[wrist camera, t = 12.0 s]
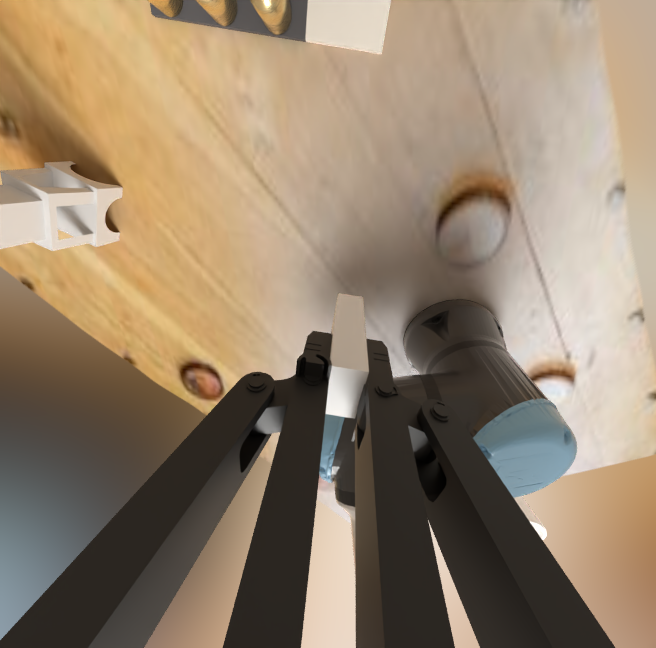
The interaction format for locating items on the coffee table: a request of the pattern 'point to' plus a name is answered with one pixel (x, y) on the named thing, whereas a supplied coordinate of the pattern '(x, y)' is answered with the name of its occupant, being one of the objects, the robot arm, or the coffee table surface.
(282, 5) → the spacers
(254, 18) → the mat
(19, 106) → the coffee table surface
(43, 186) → the sculpture
